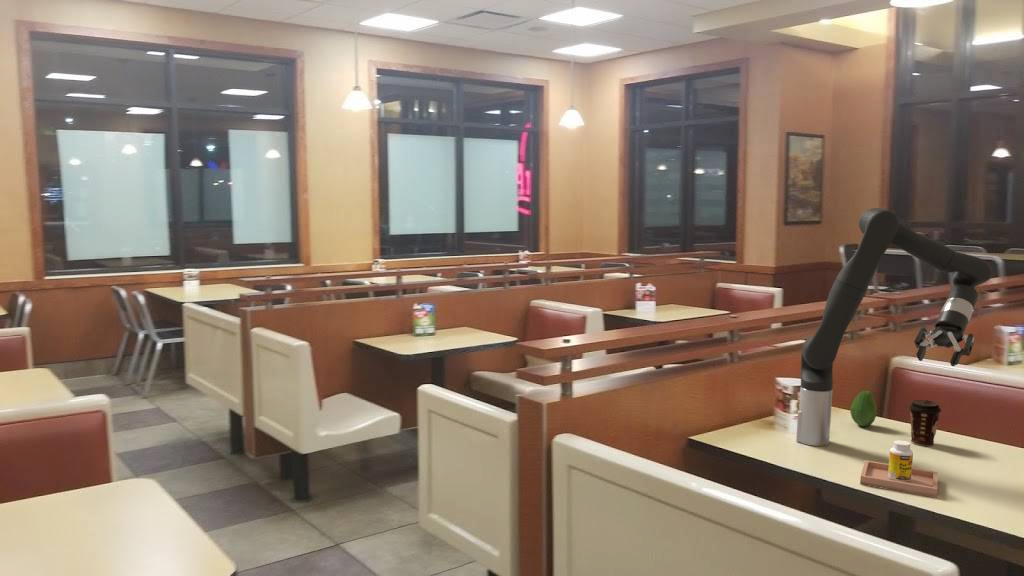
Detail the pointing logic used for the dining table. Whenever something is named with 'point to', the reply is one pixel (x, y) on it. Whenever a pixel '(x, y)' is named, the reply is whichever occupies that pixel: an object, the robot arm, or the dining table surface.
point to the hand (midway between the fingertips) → (935, 361)
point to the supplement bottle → (900, 461)
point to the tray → (919, 483)
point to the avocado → (863, 409)
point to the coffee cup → (924, 421)
